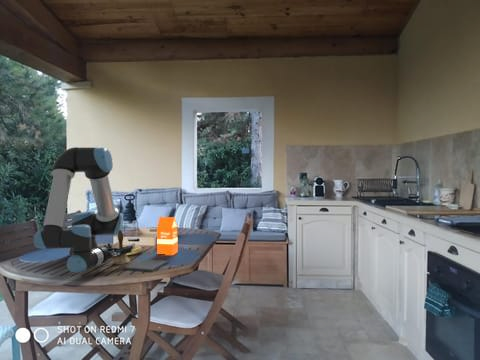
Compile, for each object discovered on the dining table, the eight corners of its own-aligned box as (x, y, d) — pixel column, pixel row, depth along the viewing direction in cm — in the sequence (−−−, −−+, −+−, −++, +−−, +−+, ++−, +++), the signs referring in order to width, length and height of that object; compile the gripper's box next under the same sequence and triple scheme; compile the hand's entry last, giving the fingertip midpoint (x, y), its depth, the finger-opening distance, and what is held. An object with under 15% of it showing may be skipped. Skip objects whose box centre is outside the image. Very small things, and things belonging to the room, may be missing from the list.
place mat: (123, 269, 168) (123, 267, 168) (141, 260, 182) (141, 258, 182) (152, 271, 163) (152, 269, 163) (168, 262, 178) (168, 260, 178)
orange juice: (172, 255, 193) (171, 218, 192) (157, 254, 194) (156, 218, 193) (177, 251, 200) (177, 216, 199) (163, 251, 202) (162, 215, 201)
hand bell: (114, 265, 175) (113, 232, 174) (111, 261, 182) (110, 230, 181) (131, 263, 178) (131, 231, 178) (128, 259, 186) (127, 228, 185)
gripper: (78, 262, 166) (109, 251, 188) (117, 266, 160) (145, 253, 182) (77, 246, 165) (109, 236, 187) (117, 249, 159) (144, 238, 181)
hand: (126, 245), depth 184 cm, fingers open, 8 cm apart
